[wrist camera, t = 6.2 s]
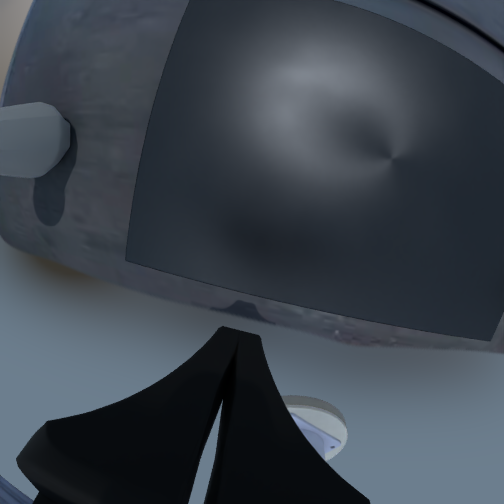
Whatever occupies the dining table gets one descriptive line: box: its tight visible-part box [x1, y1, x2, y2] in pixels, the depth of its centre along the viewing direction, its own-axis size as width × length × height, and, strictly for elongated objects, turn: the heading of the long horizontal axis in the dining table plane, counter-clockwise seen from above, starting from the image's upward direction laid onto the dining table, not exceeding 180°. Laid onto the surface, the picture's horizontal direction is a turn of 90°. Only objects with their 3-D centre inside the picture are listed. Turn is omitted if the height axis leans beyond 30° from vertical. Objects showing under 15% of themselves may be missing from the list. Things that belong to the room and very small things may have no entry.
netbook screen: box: [125, 0, 504, 341], centre depth 14 cm, size 18×26×1 cm
